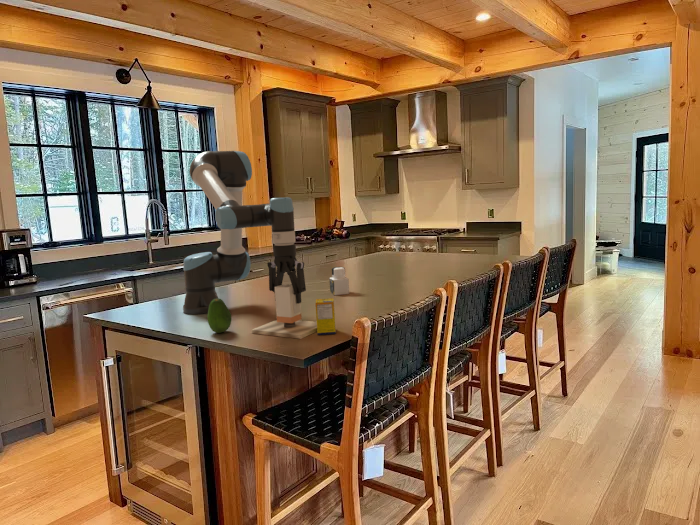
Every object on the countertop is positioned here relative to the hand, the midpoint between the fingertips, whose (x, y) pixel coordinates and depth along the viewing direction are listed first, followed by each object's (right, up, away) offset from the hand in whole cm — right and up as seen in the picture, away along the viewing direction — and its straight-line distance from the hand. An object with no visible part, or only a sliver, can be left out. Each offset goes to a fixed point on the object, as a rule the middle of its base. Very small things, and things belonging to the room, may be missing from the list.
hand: (288, 311), depth 177 cm
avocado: (-23, -7, +2) cm, 25 cm away
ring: (0, -3, +1) cm, 3 cm away
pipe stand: (0, -6, +1) cm, 6 cm away
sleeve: (0, -1, 0) cm, 1 cm away
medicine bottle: (+16, +3, +60) cm, 62 cm away
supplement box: (+13, -7, -5) cm, 15 cm away
